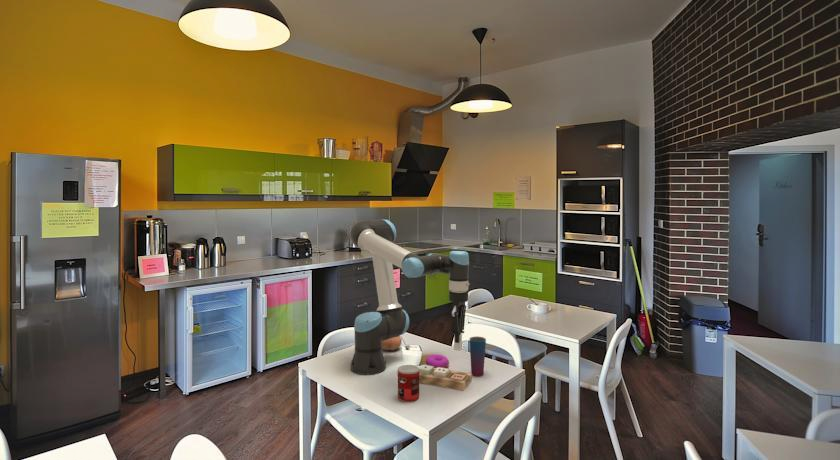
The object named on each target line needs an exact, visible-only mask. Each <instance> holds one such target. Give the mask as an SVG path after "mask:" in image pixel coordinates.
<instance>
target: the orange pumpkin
mask: <svg viewBox="0 0 840 460" xmlns="http://www.w3.org/2000/svg"><path fill="white" fill-rule="evenodd" d="M401 345H402V338H401V335H400V336H398V337H394V338H390V339H387V340H384V341H382V350H383V349H384V350H385V351H389V350H391V351H395V350H397V349H399V348H401V347H400V346H401Z"/></svg>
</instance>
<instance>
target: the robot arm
mask: <svg viewBox="0 0 840 460" xmlns="http://www.w3.org/2000/svg"><path fill="white" fill-rule="evenodd" d="M348 234H349V239H350V241H351V243H352V244H353V245H354V246H355V247H356V248H358V249H360V250H363V251H368V252H370V253H371V257H372V265H373V270H374V278H375V287H376V294H377V297H378V298H377V300H378V307H377V308H376V311H370V312H368V311H367V312H362V313H361V314H359V315H357V316H356V318H354V319H355V320H354V325H353V326H354V327H353V328H354V352H353V356H352V359H351V362H350V370H351V372H353V373H355V374H358V375H375V374H378V373H379V374H380V373H381V372H384V371H385V370H386V368H387V362H386V359H385V355H384V353H383V348H382V341H384V340H387V339H390V338H394V337H398V336H400V337H401V336H402V335H404V334H405V333H406V332H407V331H408V330H409V326H410V316H409V314H408V313H407V311H406V310H405V309H403V306H402V305H401V304H400V303H399V301H398V295H397V288H396V279H395V275H394V267H393V266H396V267H398V268H400V269H401V271H402V273H403V274H404V276H405V277H407V278H409V279H410V278H419V277H423V276H430V275H435V274H446V275H448V277H449V279H448V290H449V291H448V299H449V301H450V302H452V306H451V308H452V310H450V312H449V314H450V324H451V334H452V335H453V350H454V351H459V352H460V351H462V350H463V349H462V348H463V334H464V333H465V331H464V330H465V322H466V321H465V320H466V311H467V305H466V304H465V303H466V302H468V301H469V286H470V282H469V271H470V270H469V269H470V268H469V267H470V259H469V258H470V257H469V256H470V255H469V253H468V251H465V250H452V251H450V252H449V255H448V254H442V253H437V252H436V253H428V254H427V255H422V256H419V255H418V254H415V253H413V252H412V251H409V250H407V249H406V248H403V247H401V246H400V245H397V244H395V241H396V238H397V229H396V226H395V225H394V223H392V222H391V221H390V220H389V219H382V218H380V219H379V218H378V219H362V220H358V221H356V222H355V223H353V224H352V225H351V227H350V230H349V233H348Z"/></svg>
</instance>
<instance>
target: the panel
mask: <svg viewBox="0 0 840 460" xmlns="http://www.w3.org/2000/svg"><path fill="white" fill-rule="evenodd" d="M436 369H437V368H434V370H436ZM454 373H455V374H461V375H466V378H465V379H464V380H463V381H462V380H456V379H451V378H450V377H451V376H452V375H453V374H454ZM472 377H473V375H472V374H471V373H469V372H462V371H457V370H450V374H449V375H448V376H447V377H446V378H445V377H439V376H434V371H433V372H432V373H431V374H430V375H427V374H422V373H419V384H424V385H431V386H435V387H442V388H447V389H451V390H452V389H453V390H459V391H464V390H466V388H467V387H468V386H469V385H470V384H471V383H472Z"/></svg>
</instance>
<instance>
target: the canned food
mask: <svg viewBox="0 0 840 460" xmlns="http://www.w3.org/2000/svg"><path fill="white" fill-rule="evenodd" d="M419 367H420V366H417V365H414V364H413V365H412V364H402V365H401V366H399V367H397V397H398V400H400V401H402V402H405V403H408V402H409V403H411V402H415V401H417V400H418V399H419V397H420V383H419Z"/></svg>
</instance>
